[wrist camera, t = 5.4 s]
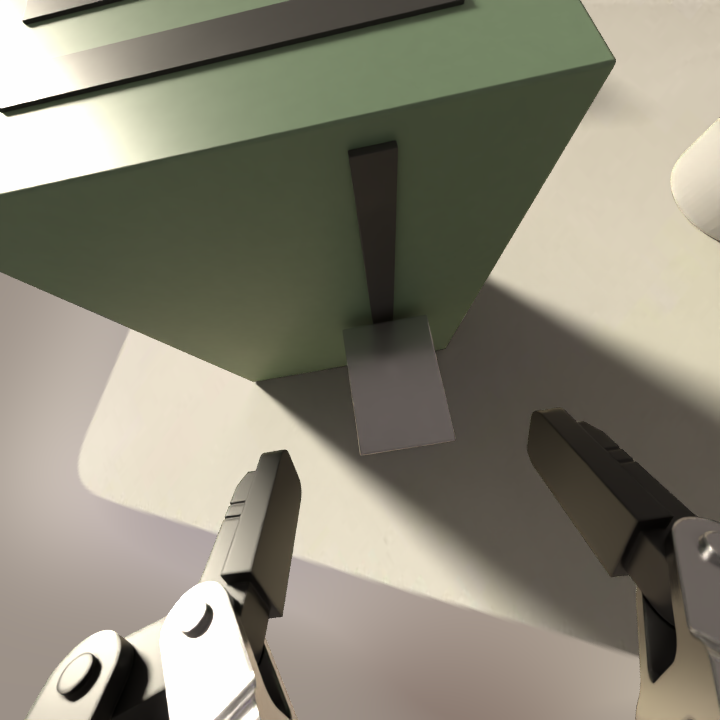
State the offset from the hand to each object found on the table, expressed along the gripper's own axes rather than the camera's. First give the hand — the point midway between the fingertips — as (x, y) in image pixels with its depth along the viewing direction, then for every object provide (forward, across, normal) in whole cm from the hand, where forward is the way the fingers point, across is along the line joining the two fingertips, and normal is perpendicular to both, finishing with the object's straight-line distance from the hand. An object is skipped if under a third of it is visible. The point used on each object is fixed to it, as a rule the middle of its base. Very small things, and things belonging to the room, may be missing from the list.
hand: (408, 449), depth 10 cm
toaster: (+13, +2, -1) cm, 13 cm away
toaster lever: (+4, 0, 0) cm, 4 cm away
